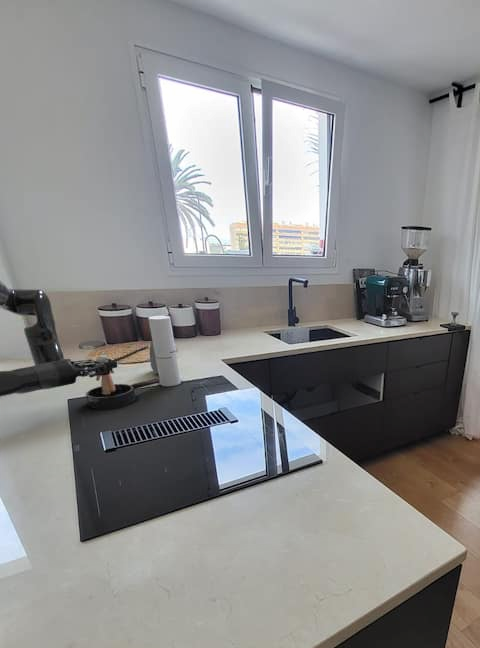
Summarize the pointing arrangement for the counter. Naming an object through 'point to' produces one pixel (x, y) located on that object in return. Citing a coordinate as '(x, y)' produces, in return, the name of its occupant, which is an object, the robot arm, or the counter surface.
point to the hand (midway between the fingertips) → (113, 362)
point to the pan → (111, 397)
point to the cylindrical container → (164, 350)
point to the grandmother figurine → (105, 377)
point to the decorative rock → (153, 359)
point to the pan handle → (145, 383)
